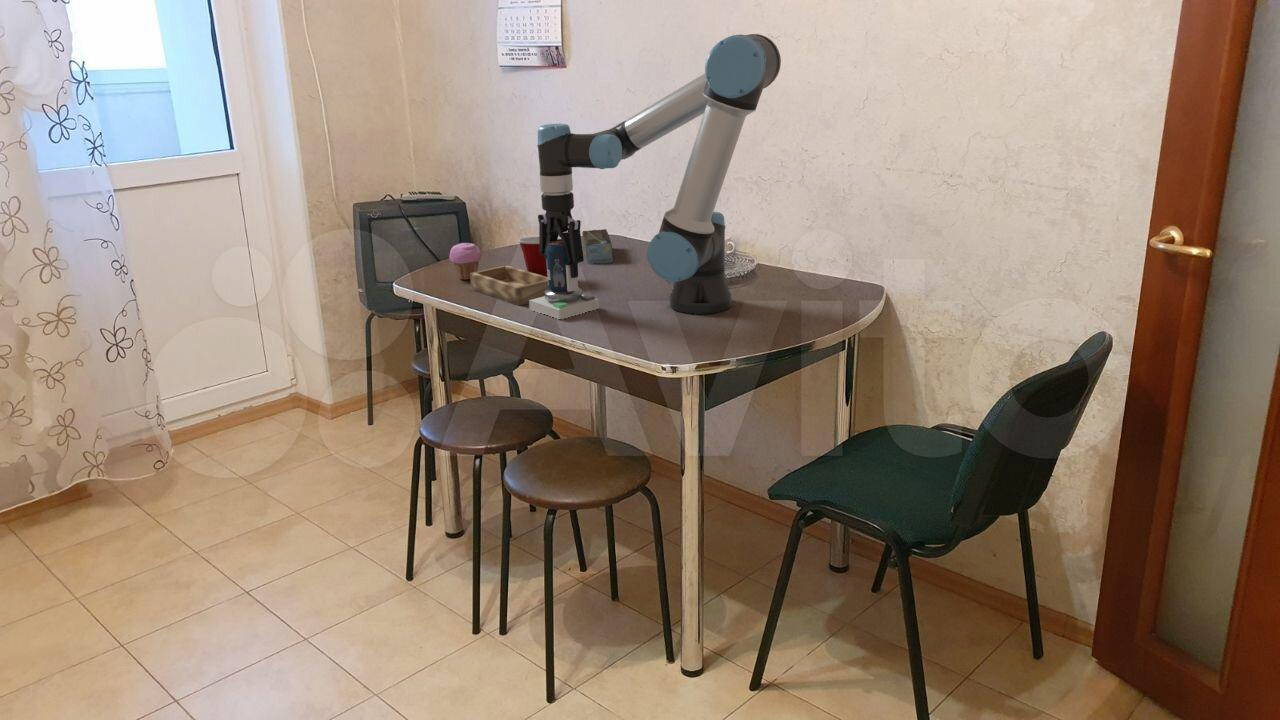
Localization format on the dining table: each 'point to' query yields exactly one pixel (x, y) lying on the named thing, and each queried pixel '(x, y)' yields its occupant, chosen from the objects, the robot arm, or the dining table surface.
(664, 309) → the dining table surface
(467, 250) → the cupcake
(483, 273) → the trough
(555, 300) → the shiny metal disc
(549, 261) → the soda can
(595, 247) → the beverage carton
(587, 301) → the white flat block
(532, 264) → the plastic cup
